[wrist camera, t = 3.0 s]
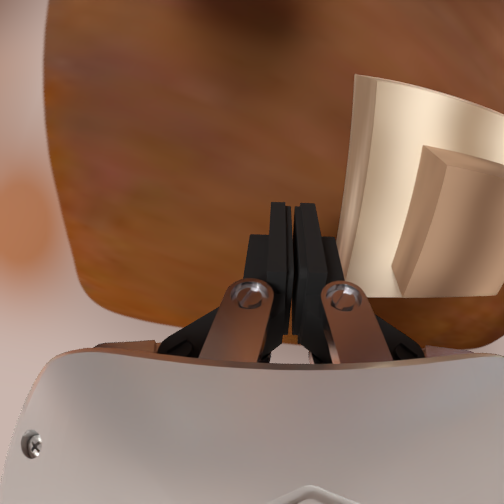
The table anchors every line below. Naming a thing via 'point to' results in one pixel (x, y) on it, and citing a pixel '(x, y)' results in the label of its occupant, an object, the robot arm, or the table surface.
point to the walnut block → (452, 228)
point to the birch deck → (399, 167)
